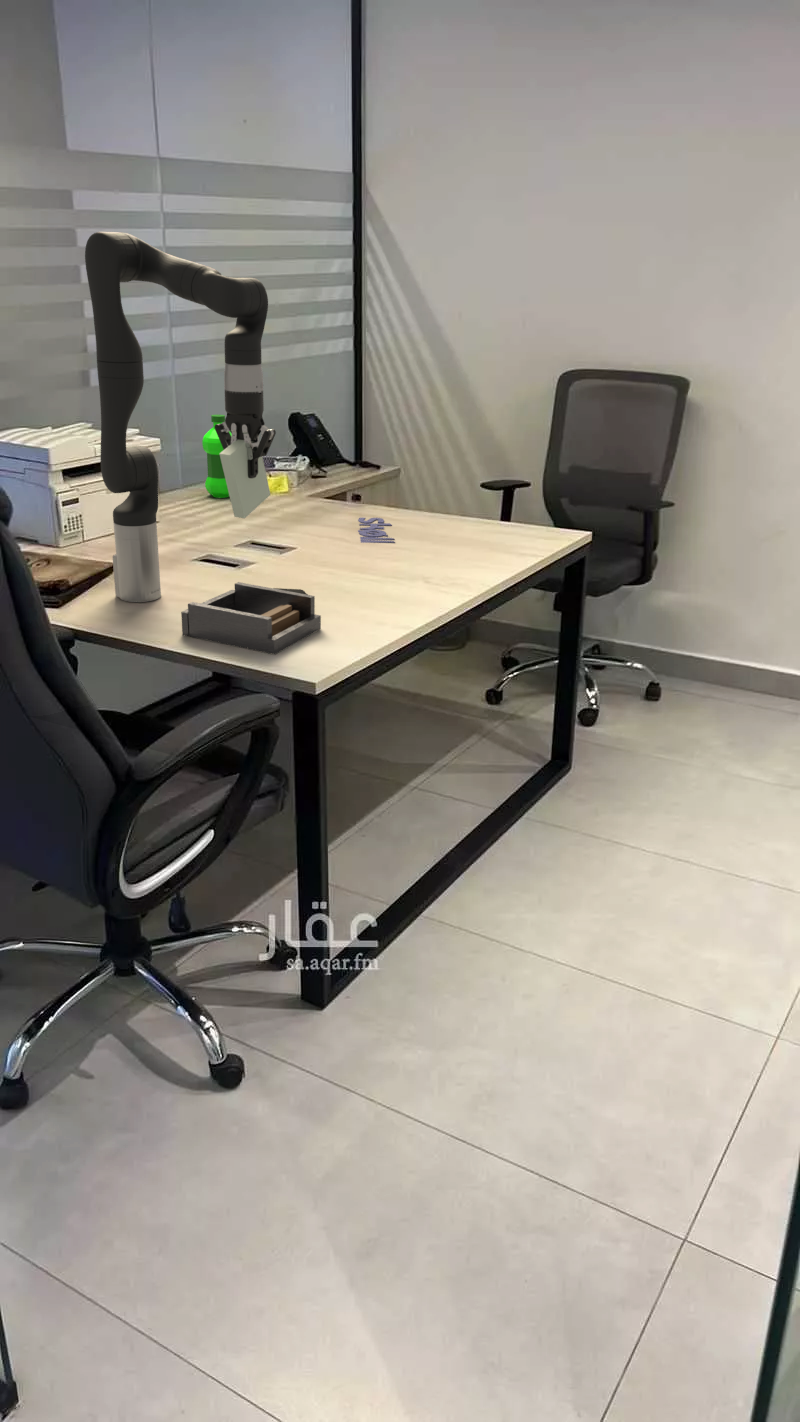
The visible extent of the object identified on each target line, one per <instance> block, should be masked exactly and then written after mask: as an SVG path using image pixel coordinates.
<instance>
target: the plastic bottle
mask: <svg viewBox="0 0 800 1422" xmlns="http://www.w3.org/2000/svg"><path fill="white" fill-rule="evenodd" d="M210 417H211V423H213V424H212V425H213V427H211V428H210V429H209V430H208V431H207V432H206V433H205V434H204V436H203V438H202V448H203V449H202V450H203V451H204V452H205V453H206V457H207V458H206V460H207V461H206V463H207V477H206V479H205V482H204V483H205V484H204V485H205V486H204V487H205V489H206V491H207V492H208V493H209V495H211V496H212V497H214V498H215V499H217V498H218V499H222V498H224V499H225V498H230V496H229V492H228V488H227V483H226V479H225V475H224V471H223V467H222V463H221V458H220V453H221V452H222V451H223V450H224V449H223V447H222V444H221V442H220V440H219V437H218V435H217V433H216V430H215V425H216V424H221V423H223V422H225V418H226V415H225V414H211V416H210ZM229 433H230V435H231V432H230V431H229Z"/></svg>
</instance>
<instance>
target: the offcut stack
mask: <svg viewBox="0 0 800 1422" xmlns="http://www.w3.org/2000/svg"><path fill="white" fill-rule="evenodd" d="M262 616H267V617H272V636H274V635H276V634H278V633H280V632H282V631H284V630H286V629H288V628H290V627H291V626H293V625H295V624H297V623H299V611H297V610H293V611H292V605H281V606H279V607H276V608H274V609H272V610H270V611H268V612H266V613H264V614H262Z"/></svg>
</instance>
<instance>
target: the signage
mask: <svg viewBox="0 0 800 1422" xmlns="http://www.w3.org/2000/svg"><path fill="white" fill-rule="evenodd" d="M376 521H377V523H374V522H376ZM357 522H358V523H359V524H358V525H359V526H360V527H359V529H358V530H357V533H358V534H359V535H360V537H359V539H360V540H359V541H360V543H363V544H364V543H365V544H368V543H369V544H370V543H373V544H376V543H377V544H396V541H395V540H396V539H395V538H394V537H393V538H392V537H390V536H389V535H388V534H387V532H386V531H384V530H385V527H392V526H393V524H391V523H390V522H389V523H388V522H386V523H385V520H384V518H382V517H381V518H380V517H370V518H369V519H367V520H366V517H359V518H358V519H357ZM361 526H363V527H361ZM365 526H367V527H365Z"/></svg>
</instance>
